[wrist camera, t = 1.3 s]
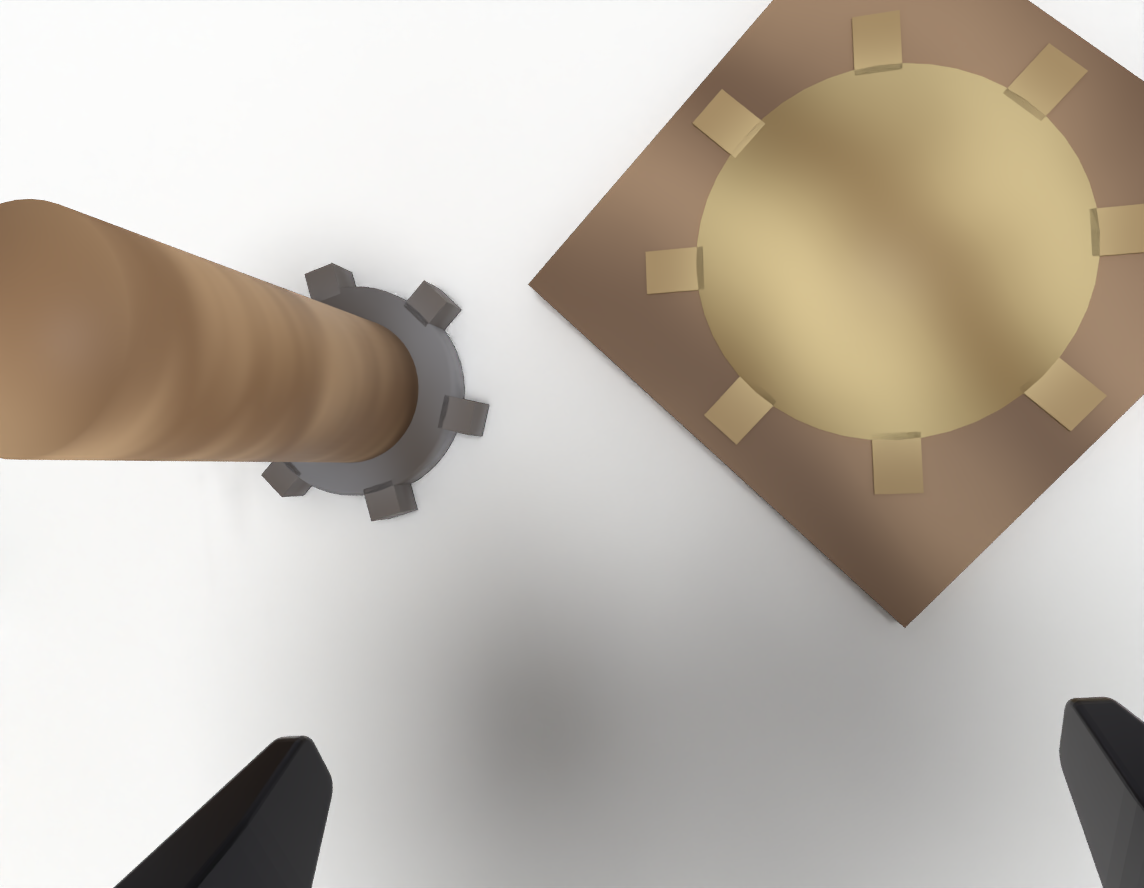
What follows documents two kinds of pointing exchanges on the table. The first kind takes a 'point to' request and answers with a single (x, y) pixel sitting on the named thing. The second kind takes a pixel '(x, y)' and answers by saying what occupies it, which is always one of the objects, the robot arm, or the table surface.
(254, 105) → the table surface
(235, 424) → the gear spindle
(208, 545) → the table surface
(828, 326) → the gear board
